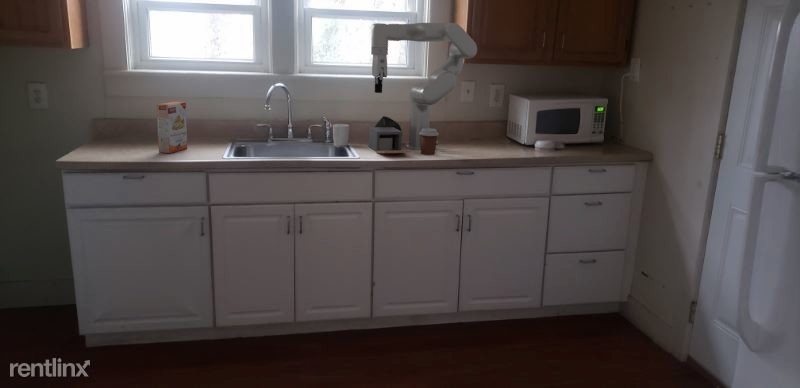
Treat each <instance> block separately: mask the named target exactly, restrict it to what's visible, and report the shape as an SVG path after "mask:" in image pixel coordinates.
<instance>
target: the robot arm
mask: <svg viewBox="0 0 800 388" xmlns="http://www.w3.org/2000/svg"><path fill="white" fill-rule="evenodd" d="M389 41H390V42H392V41H393V42H399V41H412V42H417V43H418V42H422V43H423V42H424V43H426V42H427V43H429V42H436V43H437V42H439V43H441V42H443V43H444V42H445V43H446V42H448V43H449V42H450V43H451V44H450V46H449V50H448V51H449V52H448V53H449V55H448V58H447V60H446V61H445V62H444V63H443V64H441V65H440V66H439V67H438V68H436V69H435V70H434V71H433V72H431V73H430V74H429V76H428V78H427V83H426V82H416V83H414V84H413V85H412V86H411V87H410V89H409V103H410V104H409V105H410V107H409V108H410V110H409V112H410V113H409V115H410V116H409V136H408V139H409V140H408V144H406V145H405V148H406V149H407V150H411V151H421V139H420V135H419V132H421V129H423V128H430V119H431V107H430V106H433V105H435V104H437V103H438V102H439V101H441V100H442V99H443V98H445V97H446V96H447V95H448V94H450V92H452V91H453V90H454V88H455V87H456V85H457V76H459V74H460V73H461V72H462V70H463V67H464V63H465V62H464V60H466V59H467V60H468V59H472V58H474V57H475V56H476V55H477V52H478V47H477V43H476V42H475V41H474V40H473V38H472V37H471V36H470V35H469V34H468V33H467V31H465V29H464V28H463V26H460V25H459V24H458V23H455V22H417V23H388V24H387V23H379V22H377V23H375V22H374V23H372V25H371V43H370V44H371V49H370V51H371V52H370V53H371V54H370V55H372V63H371V64H372V65H371V76H372V77H373V78H374V93H375V94H382V93H383V82H384V78H387V77H388V57H387V56H388V55H389ZM438 145H439V141H438V140H437V142H436V146H438Z"/></svg>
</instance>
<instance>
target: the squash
mask: <svg viewBox="0 0 800 388" xmlns="http://www.w3.org/2000/svg"><path fill="white" fill-rule="evenodd" d="M374 127H394V128H396V129H398V130H400V131H402V132H403V130H402V128H401V125H400V124H399V123H398V122H397V121H396V120H394V119H392V118H390V117H389V116H385V115H383V116H382V117H381V118H380V119H379V120H378V121H377V123H376V124H375V126H374Z"/></svg>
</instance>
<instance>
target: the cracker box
mask: <svg viewBox="0 0 800 388" xmlns="http://www.w3.org/2000/svg"><path fill="white" fill-rule="evenodd" d="M156 118H157V119H156V122H157V140H158V143H157V144H158V153H161V154H173V153H175V152H176V153H177V152H180V151H183V150H188V133H187V132H188V130H187V128H188V127H187V125H188V124H187V102H184V101H172V102H171V101H170V102H169V101H168V102H163V103H157V104H156Z"/></svg>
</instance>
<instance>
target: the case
mask: <svg viewBox="0 0 800 388" xmlns="http://www.w3.org/2000/svg"><path fill="white" fill-rule="evenodd" d="M368 129H369V130H368V148H369V149H371V150H372V151H374V152H375V153H376V154H378V153H377V151H393V150H402V144H403V140H402V139H403V130H402V131H400V130H398V129H396V128H394V127H375V126H370V127H369V128H368Z"/></svg>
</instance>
